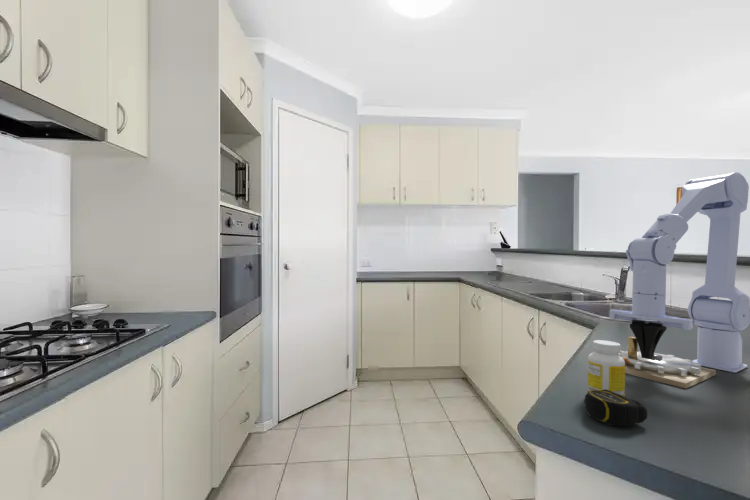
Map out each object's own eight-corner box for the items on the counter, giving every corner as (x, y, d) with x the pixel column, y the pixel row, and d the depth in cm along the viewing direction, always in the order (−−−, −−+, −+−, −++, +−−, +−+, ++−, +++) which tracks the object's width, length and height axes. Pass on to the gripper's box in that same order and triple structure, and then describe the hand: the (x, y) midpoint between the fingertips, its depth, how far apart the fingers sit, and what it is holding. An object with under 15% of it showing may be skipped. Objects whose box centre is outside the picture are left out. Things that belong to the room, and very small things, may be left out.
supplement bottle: (625, 399, 64) (626, 342, 65) (623, 409, 60) (625, 348, 60) (589, 391, 68) (590, 337, 68) (585, 400, 63) (586, 342, 63)
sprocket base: (631, 356, 93) (632, 351, 93) (715, 374, 80) (716, 368, 80) (597, 366, 84) (597, 360, 84) (685, 388, 71) (686, 381, 71)
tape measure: (650, 428, 54) (650, 402, 54) (614, 434, 52) (614, 407, 52) (607, 409, 60) (608, 386, 60) (573, 413, 58) (574, 389, 58)
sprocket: (663, 355, 90) (663, 332, 90) (722, 376, 74) (722, 348, 74) (599, 354, 90) (600, 330, 90) (645, 374, 74) (646, 345, 74)
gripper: (603, 290, 83) (601, 351, 83) (683, 298, 71) (682, 369, 71) (618, 289, 87) (617, 348, 87) (697, 297, 75) (695, 364, 75)
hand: (647, 357), depth 79 cm, fingers closed
